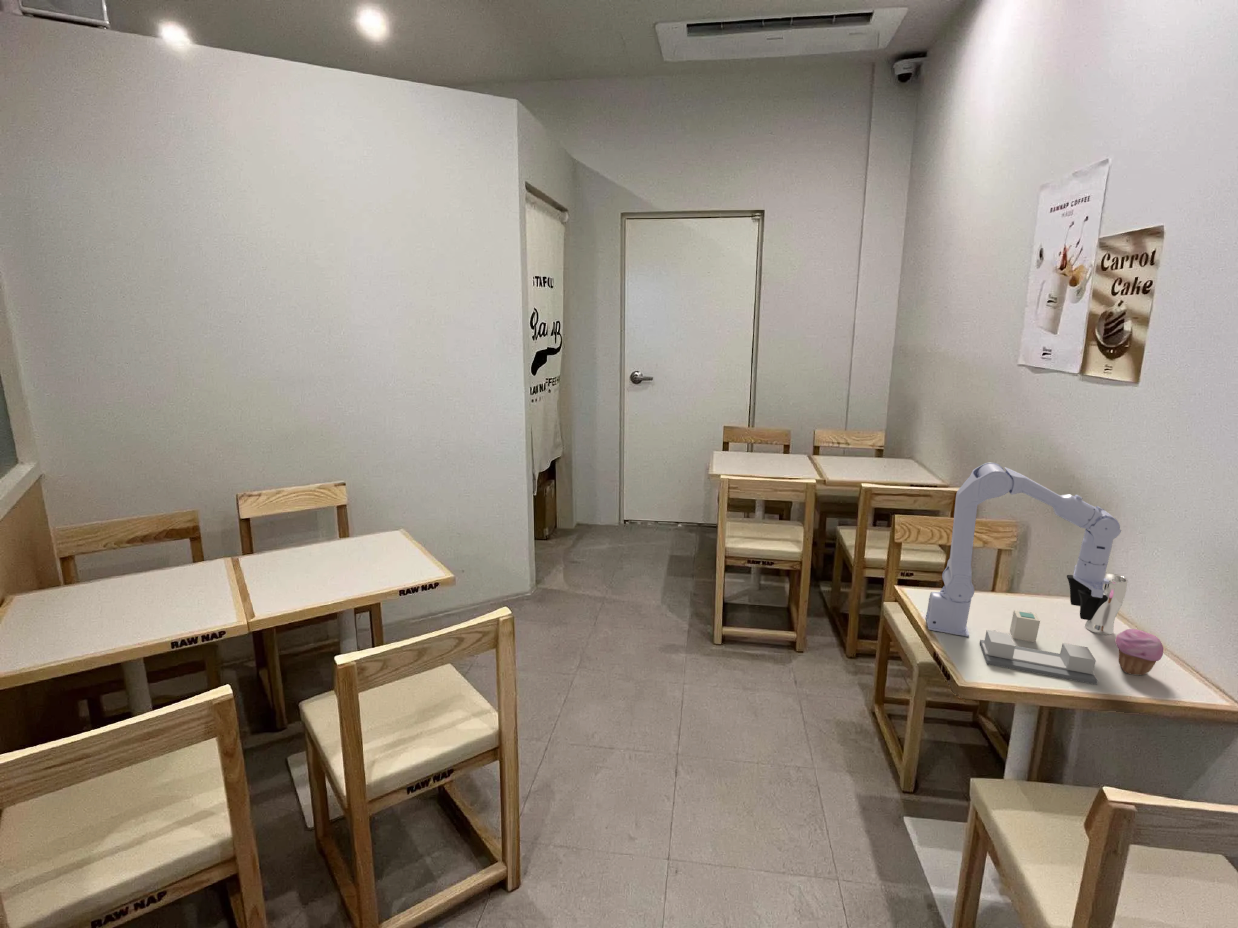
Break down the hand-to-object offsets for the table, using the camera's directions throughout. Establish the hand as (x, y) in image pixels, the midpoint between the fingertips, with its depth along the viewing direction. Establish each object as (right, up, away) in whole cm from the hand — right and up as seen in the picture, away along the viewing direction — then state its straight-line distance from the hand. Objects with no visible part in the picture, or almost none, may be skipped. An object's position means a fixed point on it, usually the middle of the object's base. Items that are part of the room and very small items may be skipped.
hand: (1080, 611), depth 158 cm
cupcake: (+8, -12, -6) cm, 16 cm away
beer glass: (+13, -8, +12) cm, 20 cm away
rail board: (-14, -11, -4) cm, 18 cm away
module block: (-9, -8, +8) cm, 15 cm away
